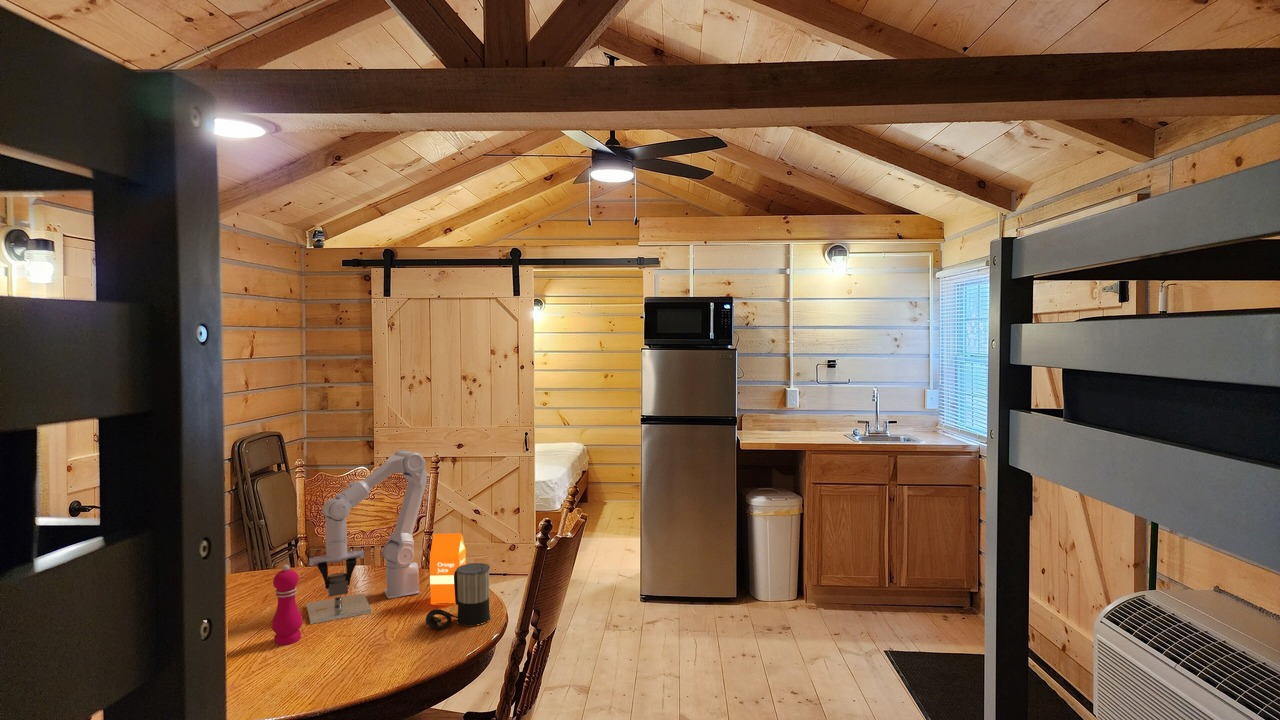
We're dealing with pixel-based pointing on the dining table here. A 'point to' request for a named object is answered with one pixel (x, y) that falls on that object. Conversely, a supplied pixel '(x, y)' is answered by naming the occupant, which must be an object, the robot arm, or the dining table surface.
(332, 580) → the knob
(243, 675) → the dining table surface
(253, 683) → the dining table surface
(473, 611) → the milk frother
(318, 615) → the flat square panel
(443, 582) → the orange juice
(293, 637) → the pepper mill
